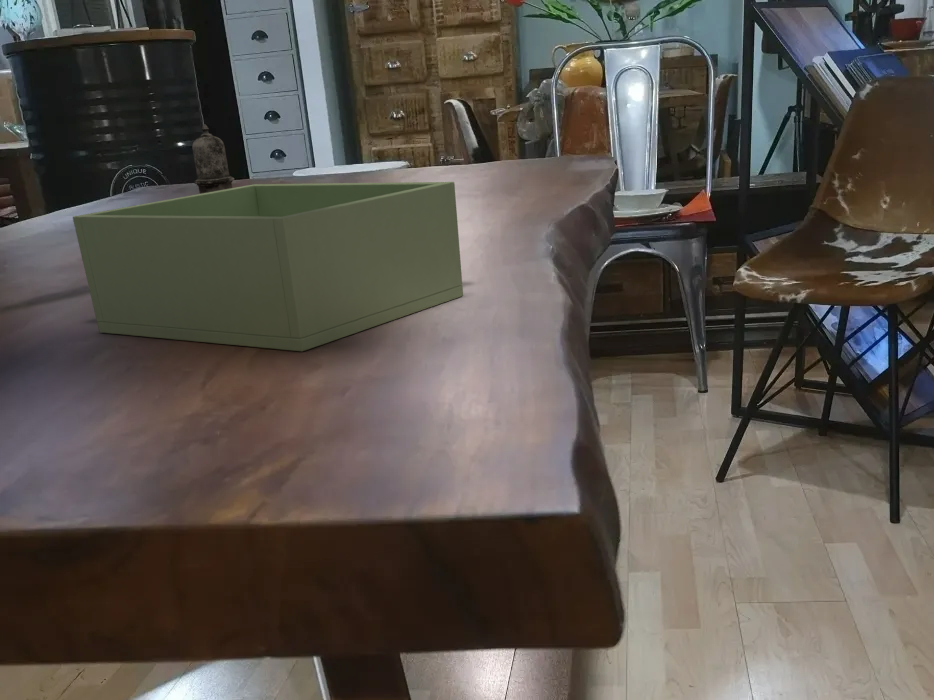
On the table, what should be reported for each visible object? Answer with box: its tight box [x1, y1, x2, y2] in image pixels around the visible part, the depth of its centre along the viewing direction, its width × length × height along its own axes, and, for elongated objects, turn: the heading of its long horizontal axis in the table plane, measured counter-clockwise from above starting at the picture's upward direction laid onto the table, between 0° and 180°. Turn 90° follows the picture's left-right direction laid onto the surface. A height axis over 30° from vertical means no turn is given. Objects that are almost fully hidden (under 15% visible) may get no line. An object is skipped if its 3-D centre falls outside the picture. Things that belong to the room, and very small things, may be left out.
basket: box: [72, 181, 464, 352], centre depth 78 cm, size 20×18×8 cm
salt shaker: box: [191, 123, 235, 194], centre depth 100 cm, size 6×6×12 cm
